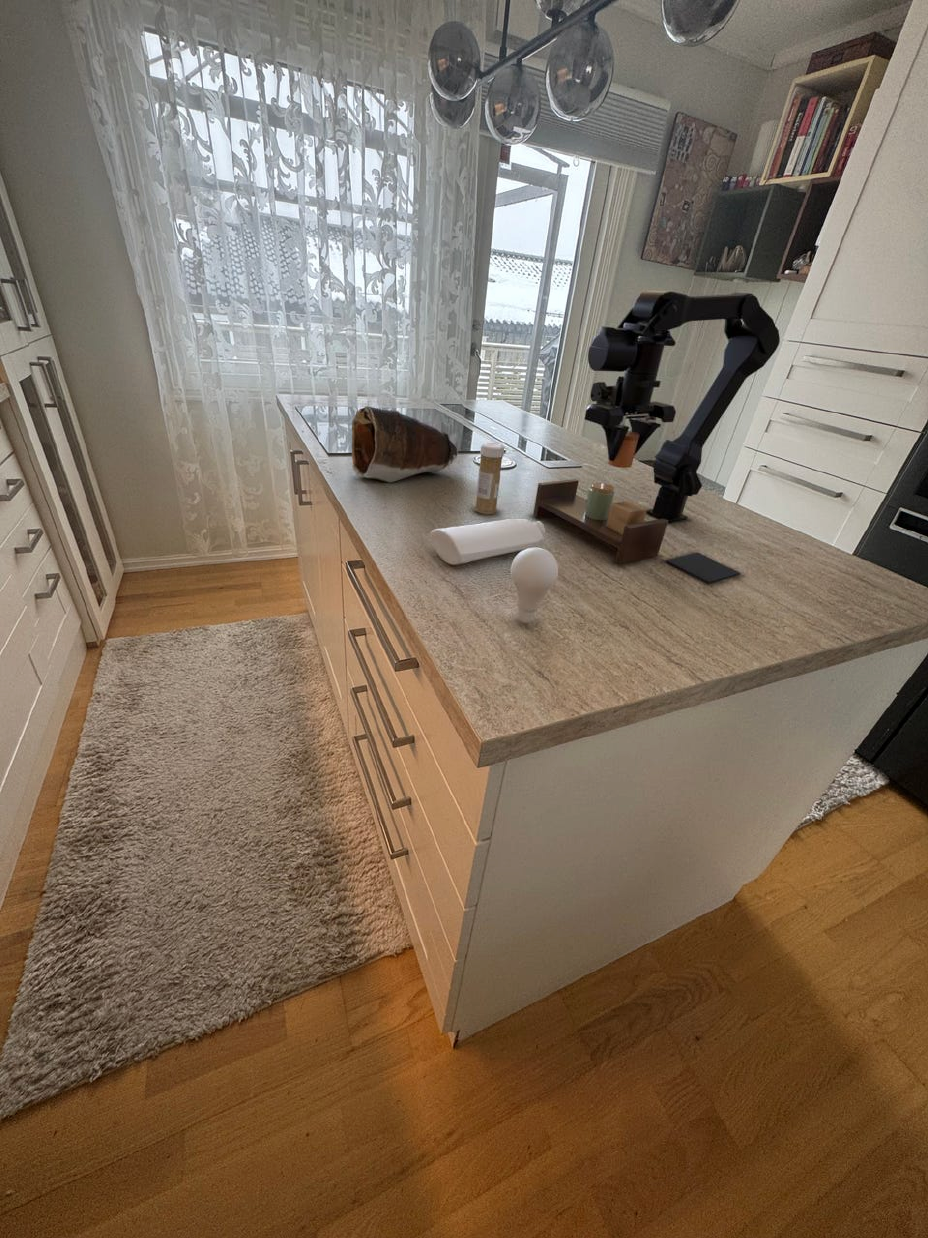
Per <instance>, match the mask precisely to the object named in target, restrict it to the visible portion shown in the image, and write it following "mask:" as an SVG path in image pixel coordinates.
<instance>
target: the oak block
mask: <svg viewBox="0 0 928 1238" xmlns="http://www.w3.org/2000/svg"><path fill="white" fill-rule="evenodd" d="M647 510H648V508H645V507H644V506H642V505H640V504H637V503H634V502H632V501H630V500H625V501H620V502H619V501H618V502H612V504H611V508H610V513H609V517H608V521H607V525H606V527H608V528H610V529H612V530H614V531H616V532H618V533H620V534H623V531H624V527H625V526H626V525H631V524H636V523H642V522H645V517H646V514H647Z"/></svg>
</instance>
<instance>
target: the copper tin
mask: <svg viewBox="0 0 928 1238" xmlns="http://www.w3.org/2000/svg"><path fill="white" fill-rule="evenodd" d="M631 431H632V430H628V432H627V434H626V436H625V438H624V441H623V443H622V445H621V447H620V450H619V452H618V454H617V456H616V458H615V460H614V461H611V460H609V457H608V456H607V460H606V463H607V465H609V466H612V467H615V468H620V469H629V468H632V466H633V462H634V458H635V456H634V454H635V450H636V446H637V442H638V440H639V436H640V435H639V434H638V433H635V432H631ZM635 455H636V454H635Z"/></svg>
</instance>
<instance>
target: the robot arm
mask: <svg viewBox="0 0 928 1238" xmlns="http://www.w3.org/2000/svg"><path fill="white" fill-rule="evenodd" d="M717 320H724V328H723V333H724V335H725V337H726V339H727V341H728V342H727V344H726V346H725V348H724V350H723V359H722V362H723V363H722V368H721V369H720V371H719V373H718V374H717V376H716V378H715V379H714V380H713V382H712V383H711V386H710V387H709V389H708V390H707V392H706V394H705V395H704V397H703V399H702V400H701V402H700V403H699V405H698V407H697V408H696V410H695V411H694V413H693V415H692V416H691V417H690V419H689V421H688V423H687V424H686V426H685V428H684V429H683V431H682V433H681V434H680V435H679V436H678V437H676V438H675V439H674V440H670V439H666V440H665V441H664V442H663V443H662V445H661V447H660V449H659V451H658V452H657V453H656V455H654V461H653V464H652V468H653V483H654V484H655V485H656V484H657V485H659V486H661V487H659V490H658V493H657V495H656V497H655V501H654V504H653V508H650V509H647V511H646V514H649V515H651V516H654V517H656V518H657V519H663V518H664V519H666V520H668V523H674V522H678V521H683V520H687V519H688V516H687V515H685V514H683V513H684V509H685V507H686V504H687V500H688V497H693V496H697V495H698V493H699V492H700V491H701V489H702V487H703V484H702V482H701V479H700V478H699V475H698V474H697V473H698V470H699V467H700V466H701V464H702V456H703V447H704V445H705V443H706V442H707V440H708V439H709V437H710V436H711V434H712V433H713V431H714V429H715V428H716V427H717V425H718V423H719V422H720V420H721V418H722V417H723V415H724V414H725V413H726V411H727V409H728V408H729V406H730V404H731V403H732V401H733V400H734V398H735V396H736V395H737V393H738V392H739V390H740V389H741V388H742V386H743V384H744V383H745V382H746V380H747V378H748V377H750V376H752V375H753V374H755V373H756V372H757V371H759V370H760V369H761V368H763V367H765V365H766V364H767V362H768V361H769V360H770V359H771V357H772V356H773V355H774V354H775V352H776V351H777V349H778V347H779V345H780V342H781V341H780V330H779V329H778V327H777V326H776V324H775V321H774V319H773V318H772V317H771V316H770V314H768V312H766V311H765V309H764V308H763V307H762V306H761V304H760V302H759V300H758V298H757V296H756V295H754V294H753V293H749V292H748V293H747V292H732V293H730V294H715V295H712V294H711V295H691V296H690V295H688V294H684V293H680V292H676V291H670V290H669V291H667V290H666V291H665V290H645V291H642V292H641V293H640V294H639V295H638V297H637V298H636V300H635V302H634V304H633V306H632V307H631V309H630V310H629V311H628V312H627V314H626V315H625V316H624V317H623V319H622V320H621V321H620V323H619V324H618V325H617V327H616V328H615V327H613V326H607V325H606V326H604V325H602V326H600V328H599V332H598V334H597V335H596V336H595V337H594V338H593V339H592V342H591V344H590V346H589V347H588V351H587V361H588V365H589V367H590V369H591V370H592V371H593V372H616V373H622V372H624V374H623V375H619V376H618V377H617V379H616V382H615V385H607V384H606V382H605V381H597V382H594V383H592V386H591V389H590V401H591V402H595V403H590V404H589V405H588V406H587V407H586V409H585V414H584V420H585V421H588V422H591V423H593V424H597V425H600V426H601V428H602V429H603V431H604V435H605V439H606V448H607V449H606V450H607V458H608V457H609V460H611V461H614V460H615V458H616V456H617V454H618V452H619V450H620V447H621V445H622V443H623V441H624V438H625V436H626V434H627V432H628V431H631V432H635V433H638V434H639V435H640V436H639V440H638V442H637V446H636V450H635V454H634V457H635V456H636V455H637V453H639V451H640V449H641V448H642V447H643V446H644V444H645V443H646V442H647V441H648V440H649V438H650V437H651V436H652V435H653V434H654V433H655V432H656V430H657V429H658V428H661V426H662V424H661V423H659V422H657V419H660V420H661V422H662V423H665V424H666V423H674V421H675V418H676V414H677V411H676V409H675V405H671V404H667V403H663V402H659V401H652V398H653V394H654V389H655V388H660V386H661V382H662V381H661V380H657V377H658V373H659V369H660V365H661V362H662V357H663V353H664V349H665V347H674V346H676V344H677V343H676V340H675V339H674V338H673V336H672V334H671V331H670V330H673V329H674V330H675V329H676V328H680V327H682V326H683V325H684V324H686V323H687V324H688V323H689V322H690V323H691V322H700V321H701V322H702V321H717ZM627 419H628V421H629V424H630V426H628V425H625V424H626V420H627ZM630 427H631V430H629V429H630Z"/></svg>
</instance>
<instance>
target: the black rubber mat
mask: <svg viewBox="0 0 928 1238" xmlns="http://www.w3.org/2000/svg"><path fill="white" fill-rule="evenodd" d="M665 563H666V564H669V565H671V566H672V567H674V568H677V569H678V570H680V571H682V572H684V573H686V574H688V575H689V576H691V577H694V578H695V579H698V580H700V581H701V582H703V583H705V584H707V585H711V584H714V583H717V582H720V581H723V580H728V579H730V578H733V577H736V576H740V575H741V572H740V571H738V570H736V569H733V568H731V567H729V566H728V565H725V564H722V563H721V562H718V561H717V560H715V559H712V558H710V557H708V556H705V555H704V554H703V553H699V552H694V553H690V554H686V555H681V556H677V557H674V558H669V559H666V560H665Z"/></svg>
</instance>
